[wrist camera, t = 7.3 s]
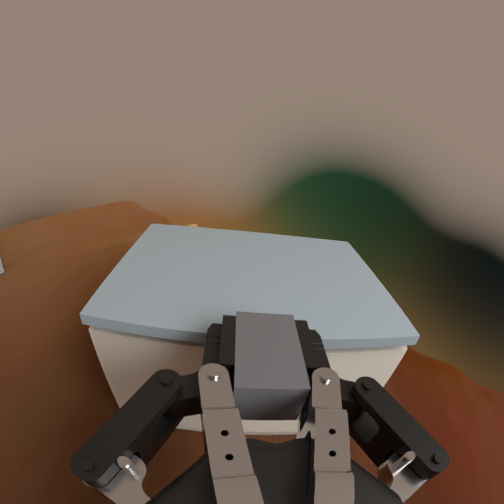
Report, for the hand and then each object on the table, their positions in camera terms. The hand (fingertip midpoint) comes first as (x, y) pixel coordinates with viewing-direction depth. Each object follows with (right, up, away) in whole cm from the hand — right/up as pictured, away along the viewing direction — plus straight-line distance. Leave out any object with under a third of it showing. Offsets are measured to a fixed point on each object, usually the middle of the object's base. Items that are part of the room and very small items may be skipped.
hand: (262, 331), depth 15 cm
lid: (0, +1, +6) cm, 6 cm away
